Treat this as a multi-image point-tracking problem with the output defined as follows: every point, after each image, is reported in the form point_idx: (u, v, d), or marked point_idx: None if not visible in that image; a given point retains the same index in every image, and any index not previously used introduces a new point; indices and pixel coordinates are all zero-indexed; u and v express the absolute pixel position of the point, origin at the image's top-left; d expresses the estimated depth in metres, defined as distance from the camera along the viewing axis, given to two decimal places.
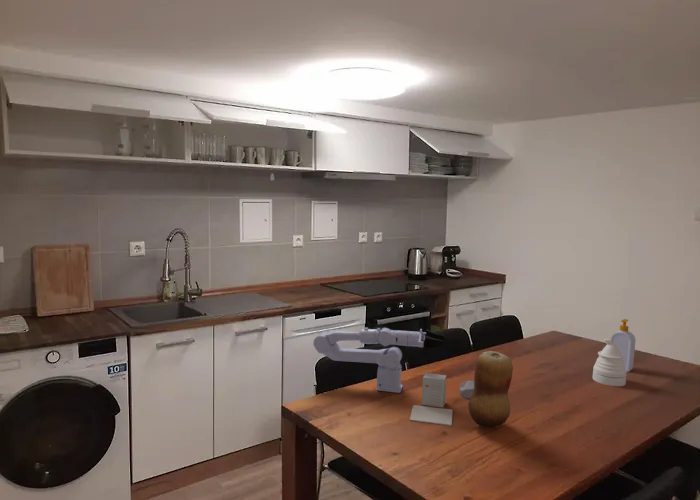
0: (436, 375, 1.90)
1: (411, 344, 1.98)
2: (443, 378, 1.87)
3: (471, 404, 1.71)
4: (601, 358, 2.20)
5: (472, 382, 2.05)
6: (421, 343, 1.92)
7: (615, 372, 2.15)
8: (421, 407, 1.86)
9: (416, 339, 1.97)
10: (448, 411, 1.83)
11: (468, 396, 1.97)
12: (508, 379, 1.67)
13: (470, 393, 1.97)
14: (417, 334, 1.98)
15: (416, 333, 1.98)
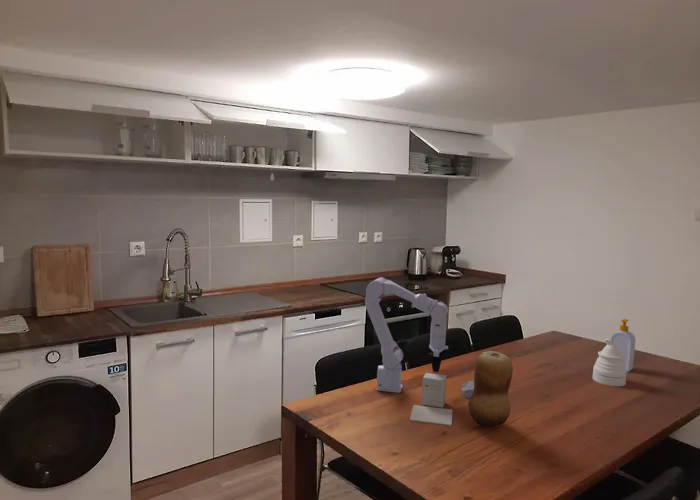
0: (436, 375, 1.90)
1: (433, 339, 1.94)
2: (443, 378, 1.87)
3: (471, 404, 1.71)
4: (601, 358, 2.20)
5: None
6: (437, 354, 1.89)
7: (615, 372, 2.15)
8: (421, 407, 1.86)
9: (438, 345, 1.93)
10: (448, 411, 1.83)
11: (470, 396, 1.97)
12: (508, 379, 1.67)
13: None
14: (443, 345, 1.94)
15: (444, 344, 1.94)
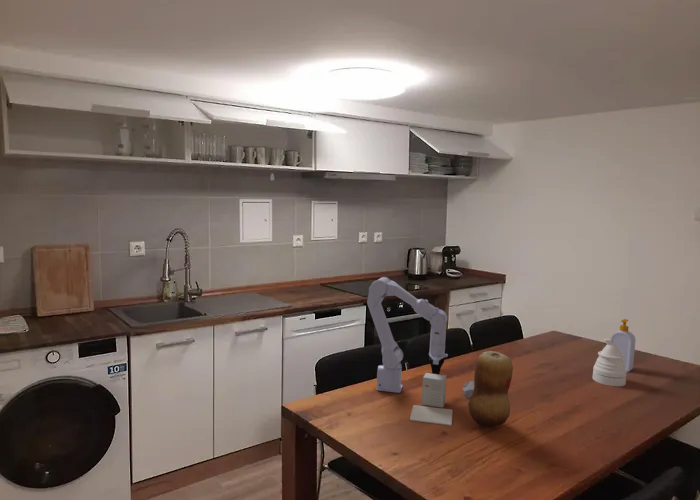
0: (436, 375, 1.90)
1: (432, 347, 1.94)
2: (443, 378, 1.87)
3: (471, 404, 1.71)
4: (601, 358, 2.20)
5: None
6: (437, 362, 1.89)
7: (615, 372, 2.15)
8: (421, 407, 1.86)
9: (438, 353, 1.93)
10: (448, 411, 1.83)
11: None
12: (508, 379, 1.67)
13: None
14: (443, 353, 1.94)
15: (443, 351, 1.95)
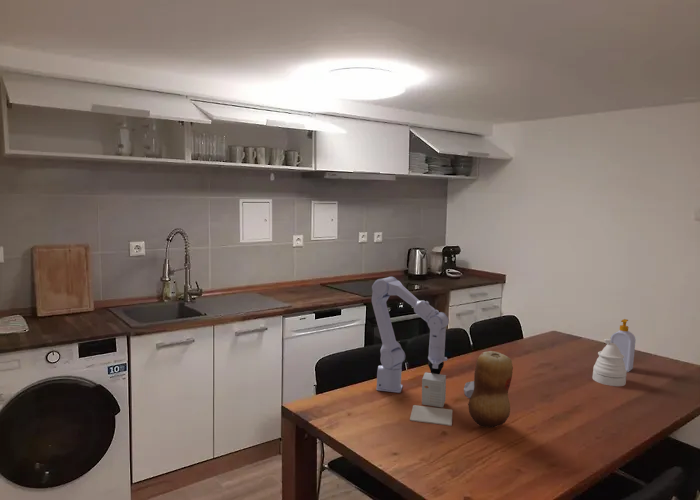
0: (435, 375, 1.89)
1: (432, 350, 1.89)
2: (442, 379, 1.86)
3: (471, 404, 1.71)
4: (601, 358, 2.20)
5: None
6: (436, 366, 1.85)
7: (615, 372, 2.15)
8: (421, 407, 1.86)
9: (437, 357, 1.89)
10: (448, 411, 1.83)
11: None
12: (508, 379, 1.67)
13: None
14: (442, 357, 1.90)
15: (443, 355, 1.90)
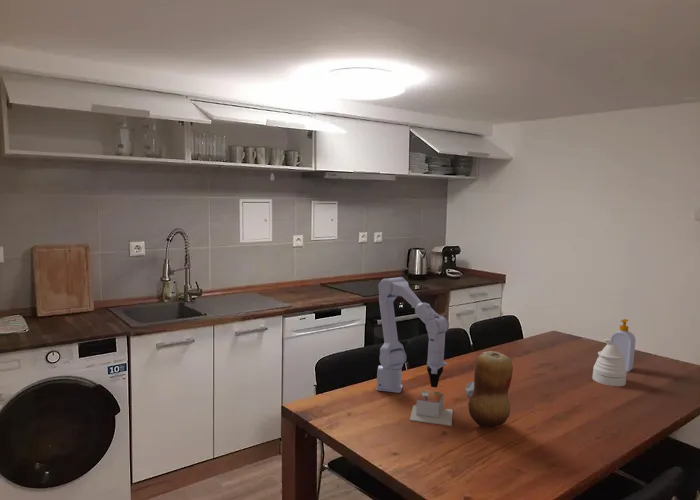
0: (428, 406, 1.77)
1: (430, 355, 1.84)
2: (436, 412, 1.77)
3: (471, 404, 1.71)
4: (601, 358, 2.20)
5: None
6: (435, 372, 1.79)
7: (614, 372, 2.15)
8: None
9: (436, 362, 1.83)
10: (448, 411, 1.83)
11: None
12: (508, 379, 1.67)
13: None
14: (441, 361, 1.84)
15: (442, 360, 1.84)
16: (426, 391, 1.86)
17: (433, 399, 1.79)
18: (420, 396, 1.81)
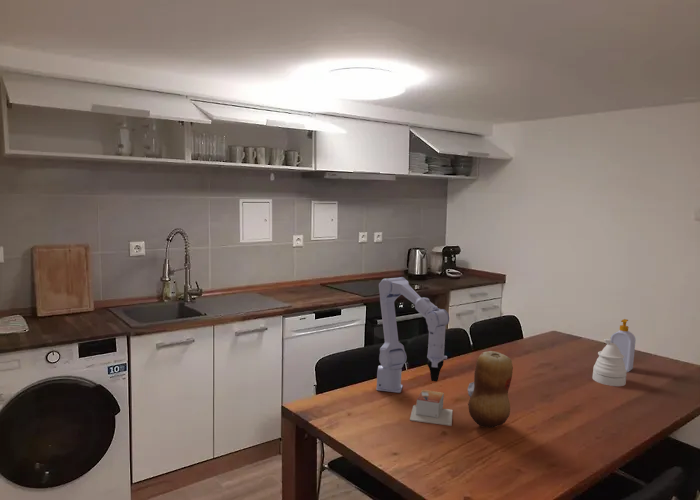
0: (428, 406, 1.77)
1: (431, 348, 1.81)
2: (436, 412, 1.77)
3: (471, 404, 1.71)
4: (601, 358, 2.20)
5: None
6: (435, 365, 1.77)
7: (614, 372, 2.15)
8: None
9: (437, 355, 1.81)
10: (448, 411, 1.83)
11: None
12: (508, 379, 1.67)
13: None
14: (442, 355, 1.82)
15: (443, 353, 1.82)
16: (426, 391, 1.86)
17: (433, 399, 1.79)
18: (420, 396, 1.81)
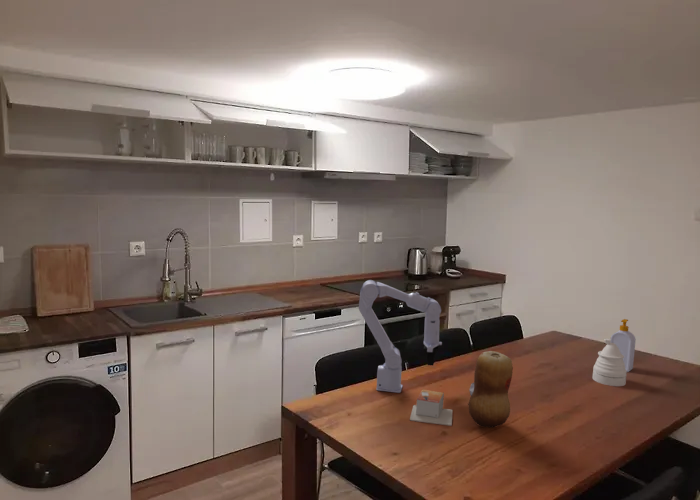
0: (428, 406, 1.77)
1: (426, 335, 1.99)
2: (436, 412, 1.77)
3: (471, 404, 1.71)
4: (601, 358, 2.20)
5: None
6: (431, 350, 1.94)
7: (614, 372, 2.15)
8: None
9: (432, 341, 1.98)
10: (448, 411, 1.83)
11: None
12: (508, 379, 1.67)
13: None
14: (437, 341, 1.99)
15: (437, 340, 1.99)
16: (426, 391, 1.86)
17: (433, 399, 1.79)
18: (420, 396, 1.81)
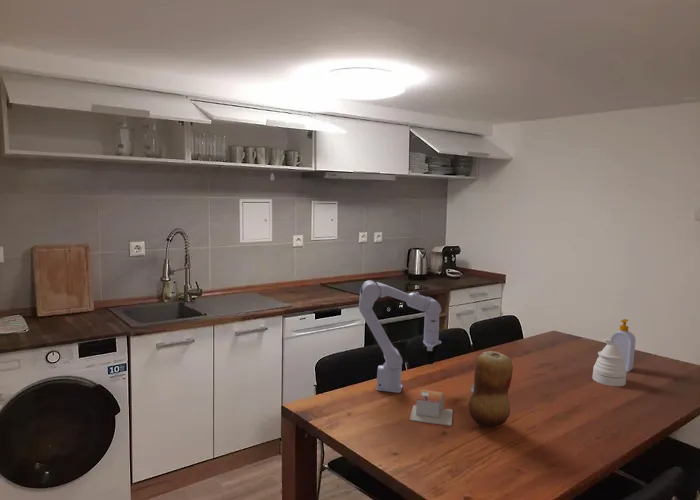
0: (428, 406, 1.77)
1: (426, 334, 2.00)
2: (436, 412, 1.77)
3: (471, 404, 1.71)
4: (601, 358, 2.20)
5: None
6: (430, 349, 1.96)
7: (614, 372, 2.15)
8: None
9: (432, 340, 2.00)
10: (448, 411, 1.83)
11: None
12: (508, 379, 1.67)
13: None
14: (436, 340, 2.00)
15: (437, 339, 2.01)
16: (426, 391, 1.86)
17: (433, 399, 1.79)
18: (420, 396, 1.81)
